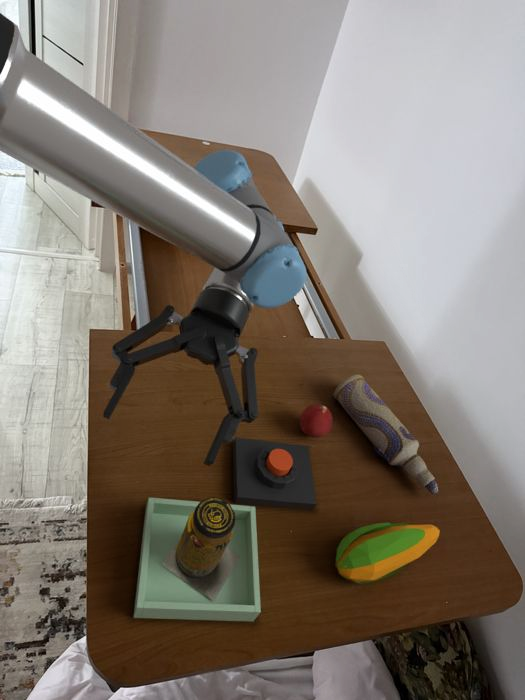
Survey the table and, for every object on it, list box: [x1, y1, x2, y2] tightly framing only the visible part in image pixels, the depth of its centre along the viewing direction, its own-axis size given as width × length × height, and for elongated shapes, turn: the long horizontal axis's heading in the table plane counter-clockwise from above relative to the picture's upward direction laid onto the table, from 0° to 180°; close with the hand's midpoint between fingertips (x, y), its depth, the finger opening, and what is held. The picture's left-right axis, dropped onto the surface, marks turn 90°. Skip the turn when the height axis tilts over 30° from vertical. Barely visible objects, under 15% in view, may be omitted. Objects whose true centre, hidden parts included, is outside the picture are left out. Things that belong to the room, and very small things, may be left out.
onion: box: [299, 403, 334, 438], centre depth 90 cm, size 6×6×8 cm
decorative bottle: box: [332, 374, 440, 495], centre depth 93 cm, size 26×8×7 cm, turn 33°
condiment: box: [161, 496, 240, 601], centre depth 66 cm, size 7×8×12 cm
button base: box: [232, 437, 318, 511], centre depth 82 cm, size 13×11×4 cm
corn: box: [335, 522, 441, 585], centre depth 77 cm, size 7×8×20 cm
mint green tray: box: [133, 497, 262, 623], centre depth 69 cm, size 16×15×4 cm
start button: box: [266, 449, 293, 476], centre depth 81 cm, size 4×4×2 cm
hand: (158, 440), depth 61 cm, fingers open, 13 cm apart
